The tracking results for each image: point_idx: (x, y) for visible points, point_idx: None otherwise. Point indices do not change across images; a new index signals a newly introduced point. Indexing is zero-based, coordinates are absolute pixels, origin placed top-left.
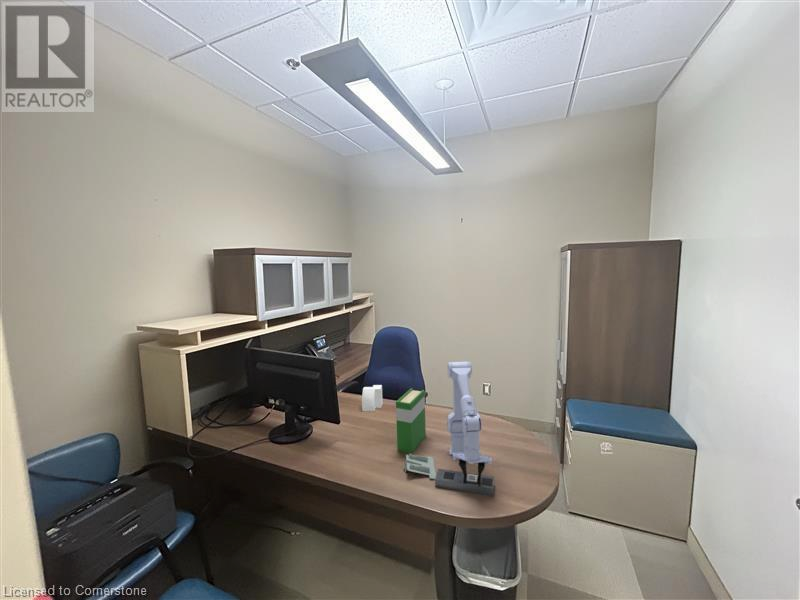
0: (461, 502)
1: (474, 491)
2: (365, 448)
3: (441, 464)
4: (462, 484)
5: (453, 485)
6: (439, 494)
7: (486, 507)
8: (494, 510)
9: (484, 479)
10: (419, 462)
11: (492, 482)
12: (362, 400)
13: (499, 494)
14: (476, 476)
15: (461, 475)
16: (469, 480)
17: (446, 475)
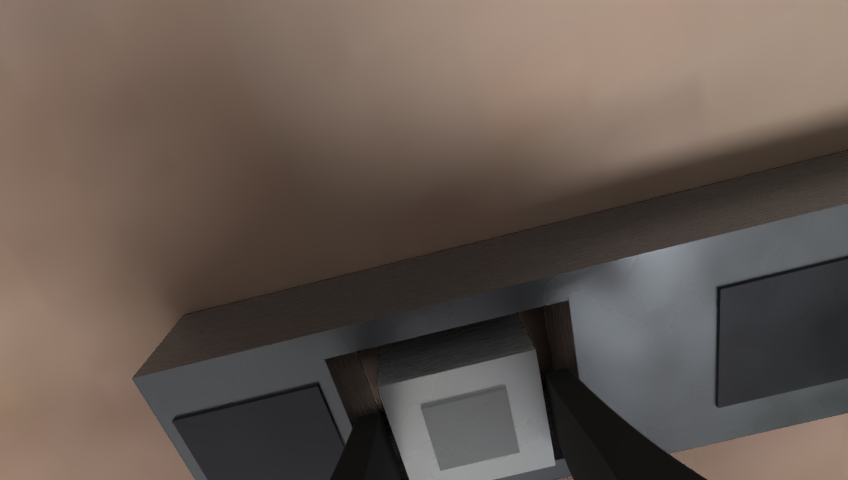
0: (489, 13)
1: (394, 272)
2: None
3: (829, 477)
4: (566, 266)
5: (678, 218)
6: (813, 17)
7: (156, 92)
8: (40, 89)
9: (317, 474)
10: None
11: (205, 473)
12: None
13: None
14: (423, 473)
15: (622, 410)
16: (488, 363)
17: (831, 318)
